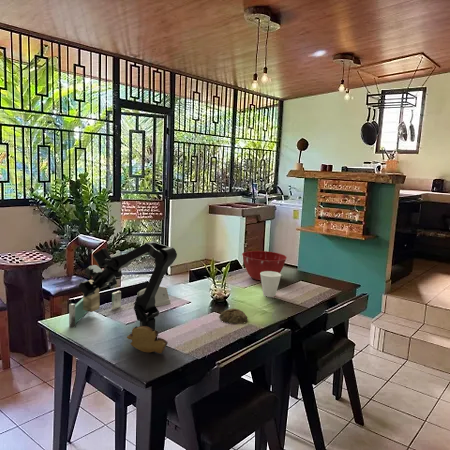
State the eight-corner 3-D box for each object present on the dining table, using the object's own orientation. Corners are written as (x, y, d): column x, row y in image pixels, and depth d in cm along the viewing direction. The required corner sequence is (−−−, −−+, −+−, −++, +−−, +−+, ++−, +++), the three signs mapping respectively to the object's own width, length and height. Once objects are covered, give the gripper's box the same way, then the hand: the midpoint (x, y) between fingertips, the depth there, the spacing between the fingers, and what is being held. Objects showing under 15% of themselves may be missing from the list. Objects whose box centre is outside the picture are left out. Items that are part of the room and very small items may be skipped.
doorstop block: (99, 308, 188) (99, 281, 186) (91, 311, 183) (91, 283, 182) (91, 306, 190) (90, 279, 188) (83, 310, 186) (82, 282, 184)
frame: (72, 328, 173) (71, 305, 172) (68, 327, 175) (67, 304, 173) (121, 306, 201) (121, 287, 200) (118, 306, 202) (118, 286, 201)
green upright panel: (77, 324, 176) (77, 307, 175) (72, 324, 176) (72, 307, 175) (94, 306, 198) (94, 291, 197) (89, 306, 198) (89, 291, 197)
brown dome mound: (240, 313, 200) (240, 303, 200) (250, 323, 189) (251, 312, 188) (215, 316, 196) (215, 306, 195) (224, 325, 184) (225, 315, 184)
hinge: (141, 309, 200) (138, 288, 201) (137, 309, 203) (134, 289, 205) (171, 303, 209) (168, 284, 211) (167, 303, 213) (164, 284, 214)
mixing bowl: (263, 270, 283) (264, 248, 281) (294, 280, 262) (296, 257, 259) (232, 276, 265) (233, 253, 263) (263, 287, 244) (264, 262, 241)
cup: (283, 297, 227) (285, 276, 225) (264, 299, 222) (266, 277, 220) (273, 291, 238) (274, 270, 236) (255, 292, 233) (256, 271, 231)
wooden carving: (169, 351, 156) (169, 327, 155) (164, 357, 152) (165, 331, 150) (130, 345, 160) (130, 321, 159) (124, 350, 156) (124, 325, 154)
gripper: (112, 256, 190) (94, 275, 196) (81, 264, 173) (63, 285, 180) (125, 275, 188) (106, 294, 194) (95, 285, 171) (76, 305, 178)
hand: (88, 294), depth 187 cm, fingers closed on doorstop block, 5 cm apart
